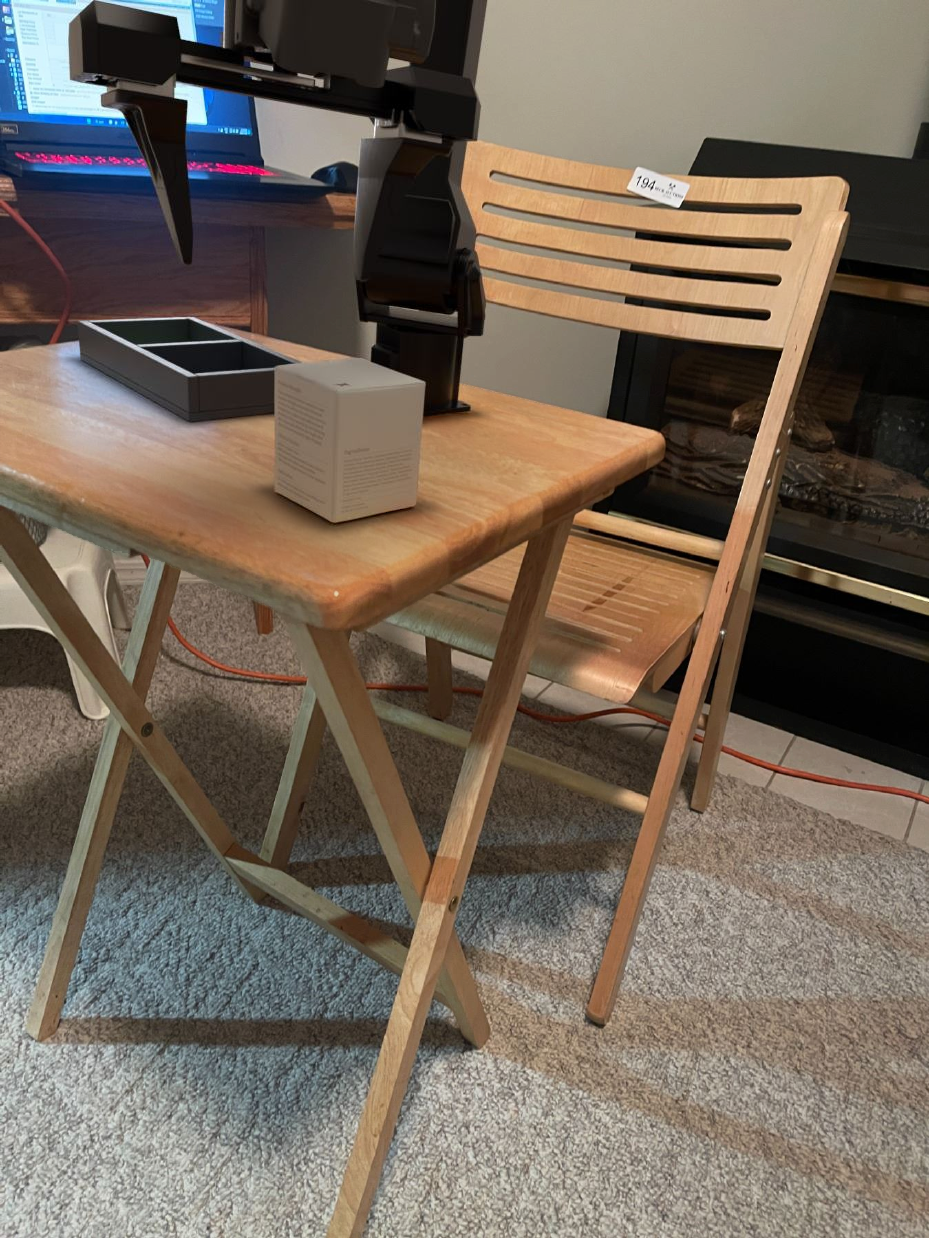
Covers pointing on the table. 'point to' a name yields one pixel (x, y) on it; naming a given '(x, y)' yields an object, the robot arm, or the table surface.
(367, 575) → the table surface
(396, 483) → the product box
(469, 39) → the robot arm
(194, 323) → the divided tray
